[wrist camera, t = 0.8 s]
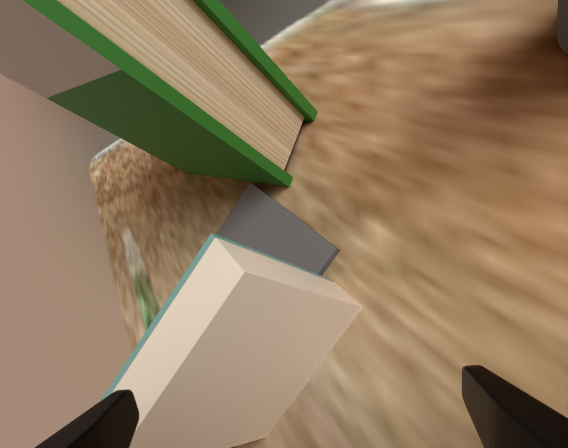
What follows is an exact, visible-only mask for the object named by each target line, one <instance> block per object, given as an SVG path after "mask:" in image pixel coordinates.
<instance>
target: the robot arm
mask: <svg viewBox="0 0 568 448" xmlns="http://www.w3.org/2000/svg"><path fill="white" fill-rule="evenodd" d="M462 397H463V400H464V403H465V405H466V408H467V410H468V412H469V414H470V417H471V419H472V421H473V423H474V426H475V428H476V430H477V433H478V435H479V437H480V439H481V442H482V444H483V446H484V448H568V418H567V417H565V416H563V415H562V414H560V413H558V412H557V411H555V410H553V409H552V408H550V407H549V406H547V405H545V404H544V403H542V402H540V401H539V400H537V399H535V398H534V397H532V396H531V395H529V394H527V393H526V392H524V391H522V390H521V389H519V388H517V387H516V386H514V385H512V384H511V383H509V382H508V381H506V380H504V379H503V378H501V377H499V376H498V375H496V374H494V373H493V372H491V371H489V370H488V369H486V368H485V367H483V366H481V365H470V366H464V367H463V369H462ZM138 422H139V410H138V406H137V403H136V400H135V397H134V394H133V392H132V391H131V390H129V389H126V390H117V391H114V392H113V393H111V394H110V395H109V396H107V397H106V398H104V399H103V400H102V401H100V402H99V403H97V404H96V405H94V406H93V407H92V408H90V409H89V410H88V411H86V412H85V413H83V414H82V415H80V416H79V417H77V418H76V419H75V420H73V421H72V422H70V423H69V424H67V425H66V426H65V427H63V428H62V429H61V430H59V431H58V432H56V433H55V434H53V435H52V436H50V437H49V438H48V439H46V440H45V441H43V442H42V443H41V444H39V445H38V446H36V447H35V448H129V447H130V444H131V441H132V438H133V436H134V433H135V430H136V427H137V425H138Z"/></svg>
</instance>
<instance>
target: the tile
mask: <svg viewBox="0 0 568 448" xmlns="http://www.w3.org/2000/svg"><path fill="white" fill-rule="evenodd" d="M362 308H363V307H362V306H361V305H360V304H359V303H358V302H356V301H355V300H354V299H353V298H352V297H351V296H350V295H348V294H347V293H346V292H345V291H344V290H343V289H342V288H340V287H339V286H338V285H337V284H336V283H335V282H334V281H333V280H331V279H329V278H326V277H324V276H321V275H319V274H316V273H313V272H311V271H308V270H306V269H303V268H301V267H298V266H296V265H293V264H290V263H288V262H285V261H283V260H280V259H278V258H275V257H272V256H270V255H267V254H265V253H262V252H260V251H257V250H255V249H252V248H249V247H247V246H244V245H242V244H239V243H237V242H234V241H232V240H229V239H226V238H224V237H221V236H219V235H216V234H214V233H211V234H210V236H209V237H208V239H207V240H206V242H205V243H204V245H203V246H202V248H201V249H200V251H199V252H198V254H197V255H196V257H195V258H194V260H193V261H192V263H191V265H190V266H189V268H188V269H187V271H186V272H185V274H184V275H183V277H182V278H181V280H180V281H179V283H178V284H177V286H176V287H175V289H174V290H173V292H172V293H171V295H170V296H169V298H168V299H167V301H166V302H165V304H164V305H163V307H162V308H161V310H160V311H159V313H158V314H157V316H156V317H155V319H154V320H153V322H152V323H151V325H150V326H149V328H148V329H147V331H146V332H145V334H144V336H143V337H142V339H141V340H140V342H139V343H138V345H137V346H136V348H135V349H134V351H133V352H132V354H131V355H130V357H129V358H128V360H127V361H126V363H125V364H124V366H123V368H122V369H121V371H120V372H119V373H118V375H117V376H116V378H115V379H114V381H113V382H112V384H111V386H110V387H109V388H108V390H107V391H106V393H105V395H104V396H103V397H102V399H101V401H102V400H103V399H104V398H106V397H107V396H109V395H110V394H111V393H113V392H114V391H117V390H126V389H129V390H131V391H132V392H133V394H134V397H135V400H136V403H137V406H138V410H139V422H138V425H137V427H136V430H135V433H134V436H133V438H132V441H131V444H130V447H129V448H231V447H235V446H238V445H242V444H245V443H249V442H252V441H255V440H259V439H262V438H266V437H267V436H268V435H269V433H270V432H271V431H272V429H273V428H274V427H275V425H276V424H277V423H278V421H279V420H280V419H281V417H282V416H283V415H284V413H285V412H286V411H287V409H288V408H289V407H290V405H291V404H292V403H293V401H294V400H295V398H296V397H297V396H298V394H299V393H300V392H301V390H302V389H303V388H304V386H305V385H306V384H307V382H308V381H309V380H310V378H311V377H312V376H313V374H314V373H315V372H316V370H317V369H318V368H319V366H320V365H321V363H322V362H323V361H324V359H325V358H326V357H327V355H328V354H329V353H330V351H331V350H332V349H333V347H334V346H335V345H336V343H337V342H338V341H339V339H340V338H341V337H342V335H343V334H344V333H345V331H346V330H347V328H348V327H349V326H350V324H351V323H352V322H353V320H354V319H355V318H356V316H357V315H358V314H359V312H360V311H361V310H362Z"/></svg>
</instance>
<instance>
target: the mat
mask: <svg viewBox="0 0 568 448" xmlns="http://www.w3.org/2000/svg"><path fill="white" fill-rule="evenodd" d="M216 235H219V236H221V237H224V238H226V239H229V240H232V241H234V242H237V243H239V244H242V245H244V246H247V247H249V248H252V249H255V250H257V251H260V252H262V253H265V254H267V255H270V256H272V257H275V258H278V259H280V260H283V261H285V262H288V263H290V264H293V265H296V266H298V267H301V268H303V269H306V270H308V271H311V272H313V273H316V274H319V275H321V276H322V274H323V273H324V271H325V270H326V269H327V267H328V266H329V264H330V263H331V262H332V260H333V259H334V257H335V256H336V255H337V253H338V252H339V249H338V248H336V247H335V246H334V245H332V244H331V243H330V242H328V241H327V240H326V239H325V238H323V237H322V236H321V235H319V234H318V233H317V232H315V231H314V230H313V229H311V228H310V227H309V226H308V225H306V224H305V223H304V222H302V221H301V220H300V219H298V218H297V217H296V216H295V215H293V214H292V213H291V212H289V211H288V210H287V209H285V208H284V207H283V206H281V205H280V204H279V203H278V202H276V201H275V200H274V199H272V198H271V197H270V196H268V195H267V194H266V193H265V192H263V191H262V190H261V189H259V188H258V187H257V186H255V185H254V184H253V183H251V182H250V183H249V185H248V186H247V188H246V189H245V191H244V192H243V194H242V195H241V197H240V198H239V200H238V201H237V203H236V204H235V206H234V207H233V209H232V210H231V212H230V213H229V215H228V216H227V218H226V219H225V221H224V222H223V224H222V225H221V227H220V228H219V230H218V231H217V233H216Z"/></svg>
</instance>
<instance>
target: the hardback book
mask: <svg viewBox="0 0 568 448" xmlns="http://www.w3.org/2000/svg"><path fill="white" fill-rule="evenodd" d="M0 74H2V75H4V76H6V77H8V78H10V79H12V80H13V81H15V82H17V83H19V84H21V85H22V86H25V87H26V88H28V89H30V90H32V91H34V92H36V93H37V94H40V95H42V96H43V97H45V98H47V99H49V100H51V101H53V102H55V103H56V104H58V105H60V106H62V107H64V108H66V109H67V110H69V111H71V112H73V113H75V114H77V115H79V116H81V117H82V118H84V119H86V120H88V121H90V122H92V123H94V124H95V125H97V126H99V127H101V128H103V129H105V130H107V131H109V132H110V133H113V134H114V135H116V136H118V137H120V138H122V139H124V140H125V141H127V142H129V143H131V144H133V145H135V146H137V147H139V148H140V149H142V150H144V151H146V152H148V153H150V154H152V155H154V156H155V157H157V158H159V159H161V160H163V161H165V162H167V163H169V164H170V165H172V166H174V167H176V168H178V169H180V170H182V171H183V172H186V173H193V174H200V175H207V176H215V177H222V178H229V179H236V180H243V181H250V182H257V183H264V184H271V185H278V186H285V187H290V184H291V181H292V179H293V177H292V176H290V175H289V174H288V173H286V172H285V171H284V169H285V167H286V164H287V162H288V159H289V156H290V154H291V151H292V149H293V146H294V143H295V141H296V138H297V135H298V133H299V130H300V128H301V125H302V122H306V121H314V120H315V118H316V115H317V111H316V110H315V108H314V107H313V106H312V105H311V104H310V103H309V102H308V100H307V99H306V98H305V97H304V96H303V95H302V94H301V93H300V91H299V90H298V89H297V88H296V87H295V86H294V85H293V83H292V82H291V81H290V80H289V79H288V78H287V77H286V76H285V74H284V73H283V72H282V71H281V70H280V69H279V68H278V66H277V65H276V64H275V63H274V62H273V61H272V60H271V58H270V57H269V56H268V55H267V54H266V53H265V52H264V51H263V49H262V48H261V47H260V46H259V45H258V44H257V43H256V41H255V40H254V39H253V38H252V37H251V36H250V35H249V34H248V33H247V31H246V30H245V29H244V28H243V27H242V26H241V25H240V23H239V22H238V21H237V20H236V19H235V18H234V16H233V15H231V13H230V12H229V11H228V10H227V9H226V7H225V6H224V5H223V4H222V3H221V2H220V1H219V0H0Z"/></svg>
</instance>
